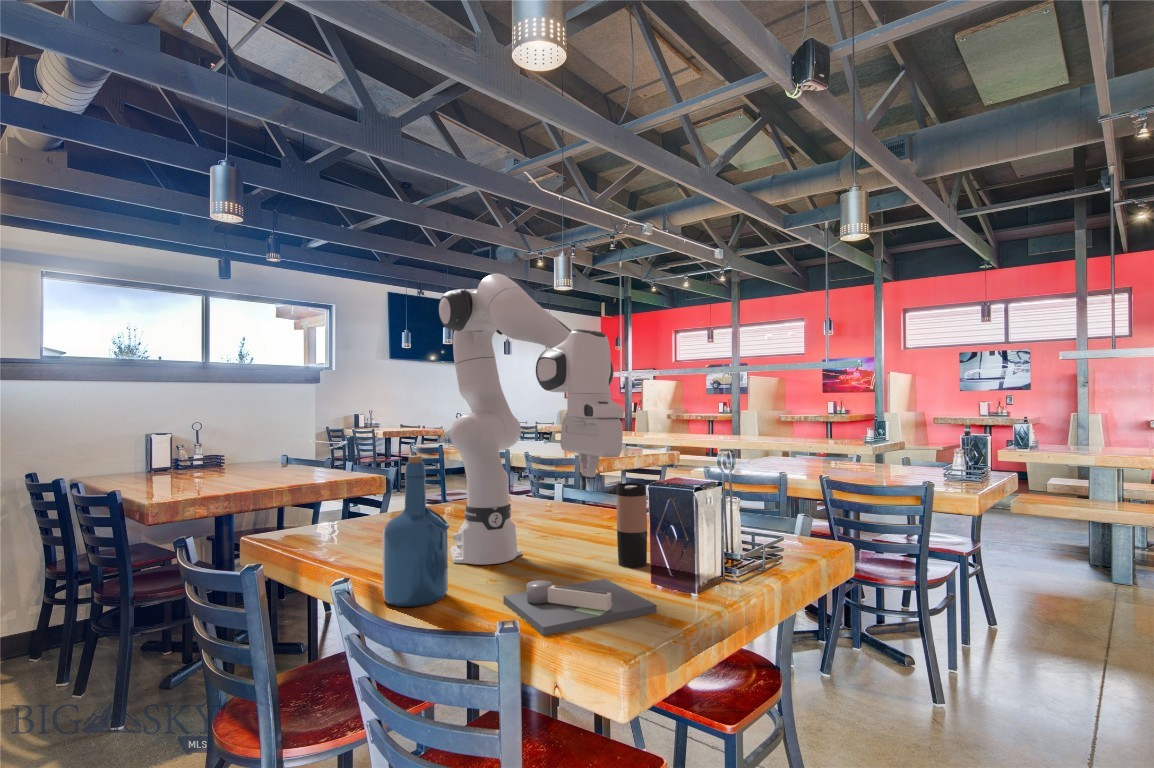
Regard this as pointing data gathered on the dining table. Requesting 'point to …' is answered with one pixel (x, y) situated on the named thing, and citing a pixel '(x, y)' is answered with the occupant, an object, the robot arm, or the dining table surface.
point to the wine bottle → (415, 547)
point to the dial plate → (579, 608)
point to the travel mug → (632, 525)
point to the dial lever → (567, 596)
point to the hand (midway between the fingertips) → (588, 476)
